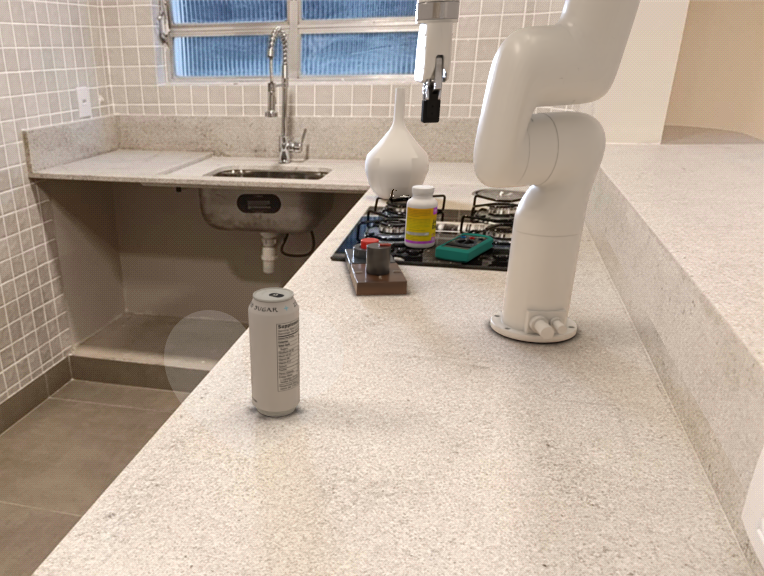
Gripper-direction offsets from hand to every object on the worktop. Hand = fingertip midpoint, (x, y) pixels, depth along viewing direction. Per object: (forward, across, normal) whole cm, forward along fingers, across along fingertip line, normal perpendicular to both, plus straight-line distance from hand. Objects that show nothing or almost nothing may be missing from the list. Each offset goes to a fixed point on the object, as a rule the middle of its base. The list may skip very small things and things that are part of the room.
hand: (429, 122), depth 133 cm
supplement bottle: (+27, -12, +2) cm, 30 cm away
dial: (+25, +16, -11) cm, 31 cm away
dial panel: (+27, +16, -11) cm, 33 cm away
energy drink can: (+27, +65, -30) cm, 77 cm away
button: (+24, +3, -11) cm, 26 cm away
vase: (+27, -68, +5) cm, 74 cm away
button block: (+27, +3, -11) cm, 29 cm away
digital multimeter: (+27, -4, +10) cm, 29 cm away
